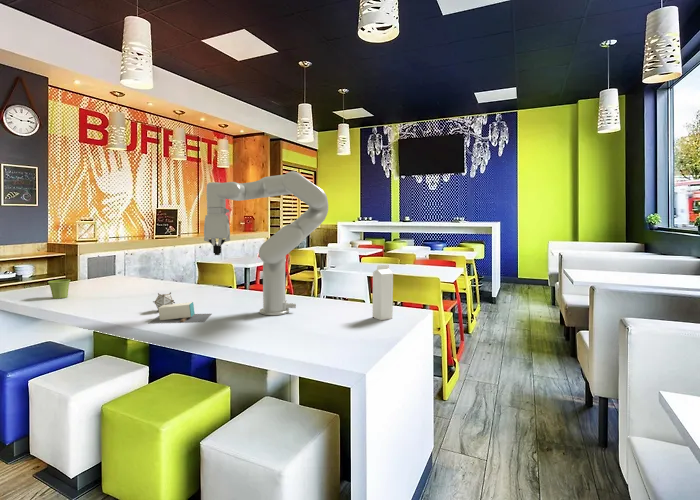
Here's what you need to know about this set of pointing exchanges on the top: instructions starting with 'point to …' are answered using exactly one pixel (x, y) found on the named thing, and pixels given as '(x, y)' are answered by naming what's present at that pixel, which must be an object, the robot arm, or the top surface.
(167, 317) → the cream block
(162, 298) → the game die
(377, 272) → the milk
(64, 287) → the plant pot
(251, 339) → the top surface
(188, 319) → the mat
